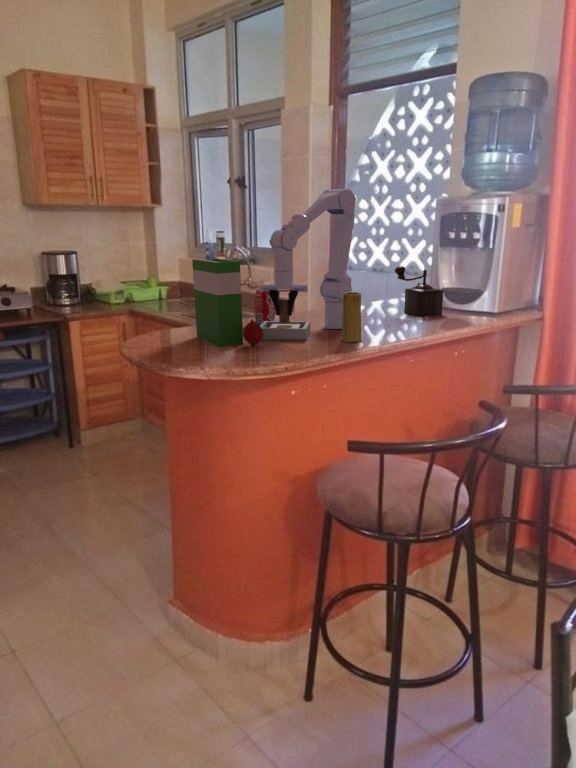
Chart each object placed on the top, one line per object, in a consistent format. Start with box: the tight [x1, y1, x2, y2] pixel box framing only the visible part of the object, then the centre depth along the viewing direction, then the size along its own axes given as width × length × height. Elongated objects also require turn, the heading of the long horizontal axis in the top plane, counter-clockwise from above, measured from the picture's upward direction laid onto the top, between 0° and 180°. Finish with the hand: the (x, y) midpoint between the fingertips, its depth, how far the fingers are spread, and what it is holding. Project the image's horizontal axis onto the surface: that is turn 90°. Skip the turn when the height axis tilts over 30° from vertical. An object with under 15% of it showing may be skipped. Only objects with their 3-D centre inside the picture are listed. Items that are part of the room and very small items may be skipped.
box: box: [260, 320, 311, 342], centre depth 177 cm, size 15×13×4 cm
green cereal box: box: [191, 257, 244, 348], centre depth 169 cm, size 18×7×24 cm, turn 31°
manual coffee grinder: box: [394, 265, 444, 318], centre depth 211 cm, size 16×11×18 cm
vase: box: [340, 291, 363, 343], centre depth 167 cm, size 6×6×14 cm
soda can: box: [253, 288, 276, 325], centre depth 197 cm, size 7×7×12 cm
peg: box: [278, 298, 291, 323], centre depth 175 cm, size 3×3×7 cm
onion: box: [243, 318, 263, 347], centre depth 163 cm, size 6×6×8 cm
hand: (284, 315), depth 176 cm, fingers closed on peg, 3 cm apart
